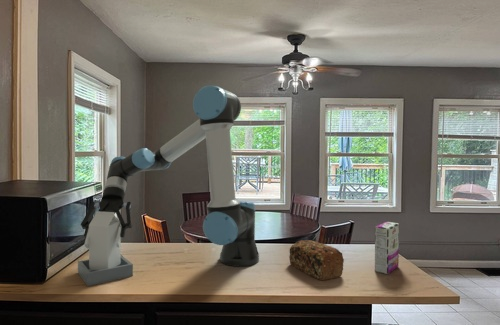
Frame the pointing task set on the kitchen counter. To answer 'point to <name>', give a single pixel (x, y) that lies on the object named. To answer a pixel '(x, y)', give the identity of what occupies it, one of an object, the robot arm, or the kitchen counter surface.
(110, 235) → the milk carton
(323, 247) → the bread
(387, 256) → the candy bar box
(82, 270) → the bin
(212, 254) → the kitchen counter surface
